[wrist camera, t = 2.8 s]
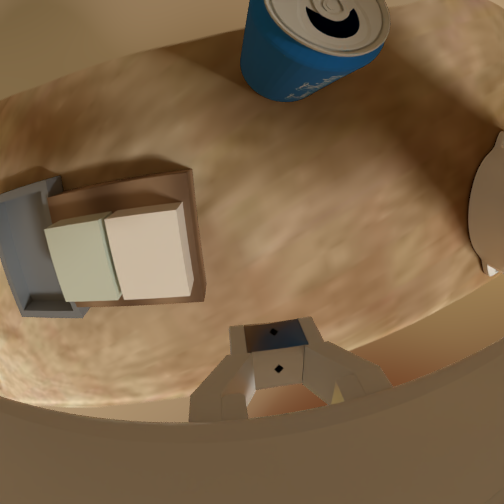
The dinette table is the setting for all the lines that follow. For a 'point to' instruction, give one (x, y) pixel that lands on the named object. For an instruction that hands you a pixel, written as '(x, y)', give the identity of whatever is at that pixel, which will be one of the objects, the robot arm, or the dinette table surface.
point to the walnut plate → (132, 196)
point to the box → (32, 251)
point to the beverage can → (309, 43)
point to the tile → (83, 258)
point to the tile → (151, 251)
